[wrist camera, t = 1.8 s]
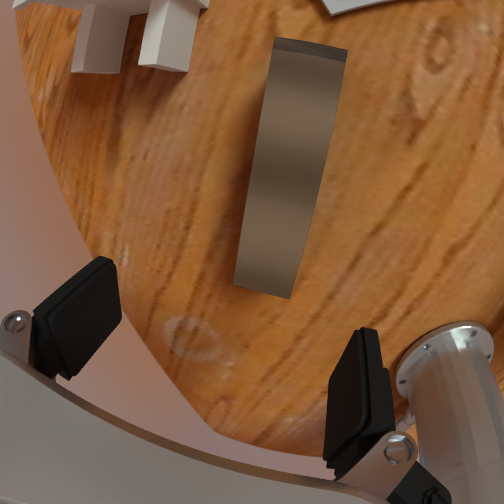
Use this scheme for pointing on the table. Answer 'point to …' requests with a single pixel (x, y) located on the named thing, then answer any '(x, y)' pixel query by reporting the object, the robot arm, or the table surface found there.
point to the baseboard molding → (347, 5)
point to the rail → (288, 162)
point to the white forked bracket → (115, 29)
